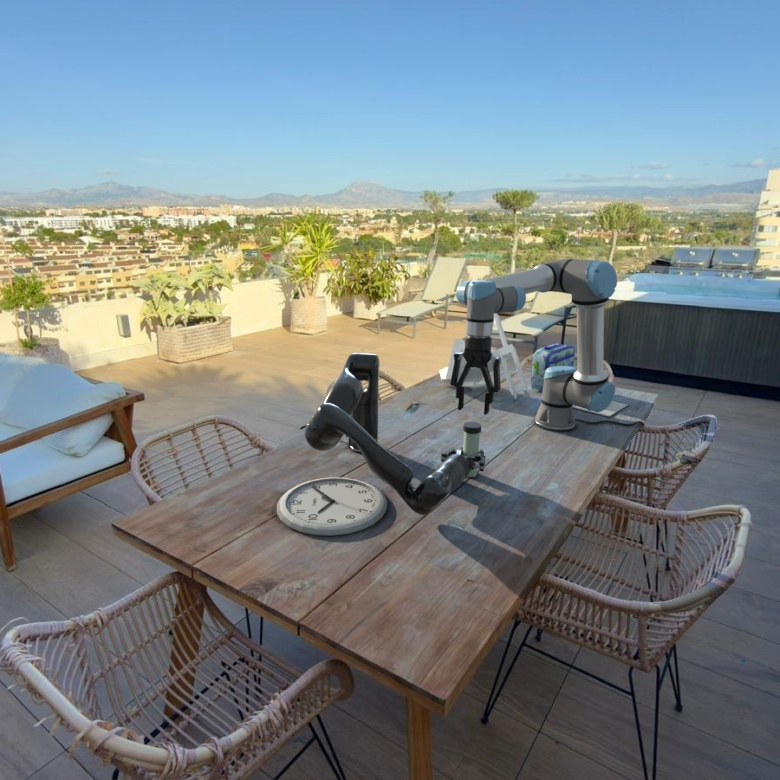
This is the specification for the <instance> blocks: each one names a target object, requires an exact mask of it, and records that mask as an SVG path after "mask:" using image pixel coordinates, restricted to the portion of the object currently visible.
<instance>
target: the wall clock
mask: <svg viewBox="0 0 780 780" xmlns="http://www.w3.org/2000/svg"><path fill="white" fill-rule="evenodd" d="M387 509H388V500H387V498H386V496H385V494H384V493H383V492H382V491H381V490H380V489H379V488H377V487H376V486H374V485H372V484H371V483H369V482H365V481H362V480H359V479H355V478H349V477H338V476H337V477H335V476H333V477H332V476H331V477H322V478H317V479H312V480H307V481H305V482H302V483H299V484H297V485H295V486H293V487H292V488H290V489H288V490H287V491H286V492H285V493H284V494H283V495H281V496H280V498H279V499H278V502H277V503H276V515H277V517H278V518H279V520H280V521H281V522H282V523H283V524H285V525H286V526H287V527H288V528H290V529H293V530H295V531H297V532H299V533H303V534H308V535H312V536H327V537H328V536H329V537H331V536H332V537H333V536H342V535H350V534H352V533H356V532H361V531H363V530H366V529H368V528H369V527H372V526H373V525H375V524H376V523H378V522H379V521H380V520H381V519H382V518H383V517H384V516H385V514H386V512H387Z"/></svg>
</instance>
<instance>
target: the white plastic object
mask: <svg viewBox="0 0 780 780" xmlns="http://www.w3.org/2000/svg"><path fill="white" fill-rule="evenodd" d="M493 319H494V321H495V324H496V325H495V326H496V328H497V332H498V335H499V338H500V342H501V345H502V347H500V348H498V349H496V350H495V349H493V348H492V347H491V354H492V356H494V357H497V358H498V357H500V358H501V362H500V365H499V366H502V370H503V373H504V376H505V380H506V383H507V386H508V390H509V393H510V394H511V395H512V397H513V398H514V399H515V400H517V392H516V391H517V390H516V388H515V385H514V381H513V378H512V375H511V371H510V369H509V365H508V361H510V360H513V363H514V366H515V369H516V372H517V376H518V380H519V382H520V385H521V389H522V391H523V393H524V395H525V396H526V397H528V396H531V395H530V390H529V388H528V387H529V386H528V384H527V381H526V378H525V375H524V371H523V369H522V368H523V367H522V366H521V362H520V359H519V355H518V352H517V349H516V347H515V346H514V345H513V343H511V344H508V341H507V337H506V334H505V331H504V328H503V325H502V321H501V318H500V315H499V313H495V314H494V316H493ZM464 350H465V339H463V338H460V339H458V338H454V340H453V344H452V349H451V353H450V357H449V362H448V366H446V367H444V368H442V369H440V370H439V371H438V372H439V376H440V381H442V383H443V384H444V385H445V386H449V385H450V386H451V384H450V382H451V377H452V372H453V367H454V354H455V353H457V352H459V353H463V352H464ZM466 363H467V362H466V360H465V359H464V357H462V359H461V363H460V369H459V374H458V379H457V382H458V381H459V378H460V376H461V374H462V372H463V370H464V367H465V365H466ZM487 364H488V370H489V373H493V364H492V361H491V360H490V361H489V362H488V363H487ZM482 381H484V377H483V373H482V372H481V369H480V368H477V367H471V368H470V370H469V373H468V375H467V377H466V379H465V381H464V383H463V384H467V383H468V384H469V383H473V384H477V383H480V382H482Z"/></svg>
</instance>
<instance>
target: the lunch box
mask: <svg viewBox="0 0 780 780" xmlns="http://www.w3.org/2000/svg"><path fill="white" fill-rule="evenodd" d="M575 352H576V351H575V346H573V345H568V344H562V343H553V344H550V345H547V346H546V345H545V346H544V347H541V348H538V349H537V350H536V351H535V352H534V354H533V357H532V362H531V371H530V372H531V374H530V387H531V389H533V390H539V391H543V381H544V379H543V378H544V375H545V370H546V369H547V368H549V367H555V366H571V367H574V363H575Z"/></svg>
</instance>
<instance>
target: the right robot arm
mask: <svg viewBox="0 0 780 780" xmlns="http://www.w3.org/2000/svg"><path fill="white" fill-rule="evenodd" d="M617 275H618V274H617V271H616V269H615V267H614V265H612V264H611V263H610V262H609V261H602V260H599V259H581V258H580V259H579V258H562V259H556V260H552V261H548V262H544V263H539V264H537V265H536V266H534V268H531V269H527V270H523V271H518V272H514V273H509V274H505V275H500V276H496V277H492V278H487V279H474V280H465V281H462V282H460V283H459V284H458V286H457V288H456V292H455V293H456V295H455V296H456V300H457V302H458V303H460V305H464V306H466V321H465V334H466V335H465V337H464V342H465V350H464V352H463V353H459V352H457V353H455V354H454V367H453V372H452V377H451V382H450V386H452V387H455V398H456V399H458V406H457V410H458V411H461V410H463V409H464V406H465V405H464V403H465V387H464V385H463V384H465V383H464V381H465V379H466V377H467V375H468V373H469V370H470V368H471V367H477V368H480V369H481V372H482V373H483V381H484V383H485V386H486V389H487V391H486V392H485V395H484V408H483V410H484V411H483V415H488V414H489V413H490V405H492V404H493V402H494V396H495V395H494V394H495V393H499V392H500V390H501V388H502V387H501V386H502V385H501V369H500V366H501V365H500V362H501V358H500V357H498V358H497V357H494V356H492V354H491V348H492V340H493V339H492V335H493V327H494V314H495V313H497V314H504V313H513V312H518V311H521V310H522V309H523V308H524V307H525V305H526V302H527V295H528V294H532V293H536V292H539V293H549V292H553V293H561V294H562V293H563V294H568V295H571V303H572V305H574V306H575V307H576V347H577V348H576V352H577V355H576V356H577V367H576V366H573V367H571V366H555V367H549V368H547V369H546V370H545V375H544V378H543V379H544V381H543V390H541V391H542V394H541V402H540V405H539V407H538V410H537V411H536V413H535V415H534V424H535V425H536V426H537V427H539V428H542V429H544V430H549V431H556V432H567V431H572V430H574V429H575V428H576V422H579V423H585V424H588V425H597V424H601V423H610V424H615V425H619V426H624V427H625V426H626V427H632V426H636V425H638V424H640V425H643V426H644V425H645V424H644V422H642V421H641V420H637V421H635V422H633V423H623V422H619V421H615V420H598V421H587V420H584V419H583V420H582V419H577V418H575V417H576V416H575V413H574V407H576V406H579V407H582V408H585V409H587V410H589V411H595V412H601V411H603V410H605V409H606V408H607V407H608V406H609V405H610V403H611V402H612V401H614V397H615V394H616V385H615V384H614V383H613V382H612V381H610V380H609V373H608V371H606V370H605V369H604V357H605V356H604V353H605V352H604V351H605V350H604V344H605V343H604V340H605V339H604V338H605V337H604V336H605V335H604V334H605V333H604V332H605V330H604V329H605V325H604V324H605V323H604V322H605V310H604V309H605V305H606V304H607V303H608V302H609V301H610V300H609V299H610V298H611V297H612V296H613V295H614V293H615V292H616V288H617V286H618V276H617ZM462 357H464V359H465V360H466V362H467V363H466V365H465V367H464V370H463V372H462V374H461V376H460V378H459V381H458V382H457V379H458V374H459V369H460V363H461V359H462ZM490 360H491V361H492V364H493V371H492V373H493V374H492V375H493V379H492V376H491V374H490V373H491V372H490V373H489V370H488V364H487V363H488V362H489V361H490ZM499 365H500V366H499ZM573 406H574V407H573Z"/></svg>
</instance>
